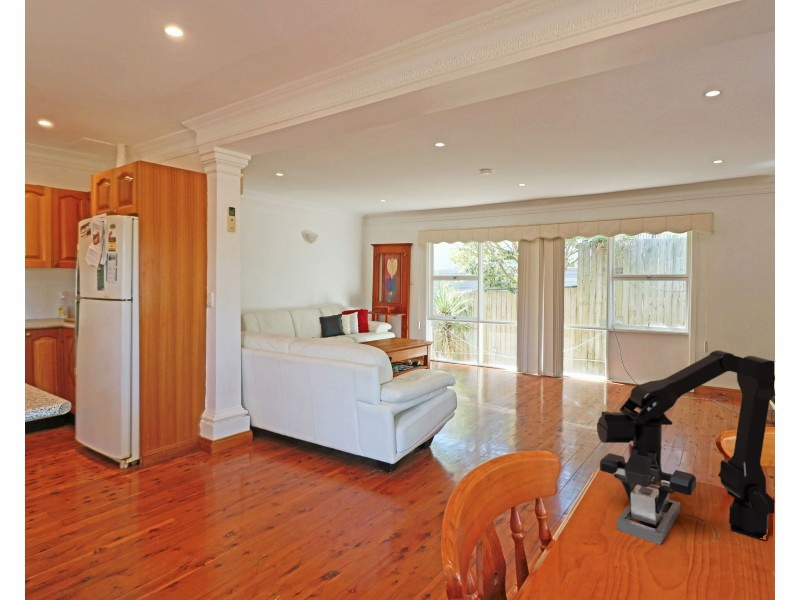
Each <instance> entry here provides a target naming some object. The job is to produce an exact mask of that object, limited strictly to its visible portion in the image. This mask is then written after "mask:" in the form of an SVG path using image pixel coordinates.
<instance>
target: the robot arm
mask: <svg viewBox="0 0 800 600" xmlns="http://www.w3.org/2000/svg"><path fill="white" fill-rule="evenodd" d="M727 372H732V373H735V374H736V380H737V384H738V386H739V390H740V391H741V400H740V401H741V402H740V408H739V417H738V422H737V430H736V435H735V443H734V449H733V455H732V456H731V457H730V458H728V460H724V459H722V460H721V461H720V469H719V472H718V475H717V476H718V477H719V478H720V483H721V485H722V486H723V487H724V489H726V492H727V495H728V496H730V497H732V498H733V501H732V502H731V503H730V505H729V516H728V523H729V525H730V527H729V528H730V530H731V531H732V532H736V533H740V534H743V535H745V536H748V537H752V538H755V539H758V538H759V540H761V539H760V538H763V536H764V535H766V534H767V529H768V527H769V515H770V514H775V513H774V501H775V499H773V497H772V496H771V495H769V493H767V478H766V474H765V472H764V470H763V467H762V464H761V461H762V453H763V446H764V440H765V435H766V434H765V433H766V429H767V428H766V427H767V422H768V415H769V407H770V402H771V399H773V398H774V397H775V395H774V360H770V359H766V358H763V357H758V356H755V355H747V356H744V357H742V356H741V357H740V356H738V355H734V353H731V352H727V351H724V350H719V349H718V350H717V349H716V350H714V351H712V352H710V353H709V355H706V356H705V357H703V358H701V359H699V360H698V361H695V362H694V363H692V364H690V365H688V366H687V367H686V366H685V368H683V369H680V370H678V371H677V372H675V373H673V374H671V375H669V376H668V377H666V378H665V377H664V378H663V379H657V380H650V381H647V382H644V383H641V384H637V385H636V386H635V387H633V388H632V390H631V391H630V396H629V397H627V399H626V400H625V402H624V403H623V405H622V406H621V407H620V408H619V412H617V411H616V412H613V411H611V412H610V411H601V416H599V418H598V420H597V423H596V430H597V435H598V436H597V437H598V438H599V441H600V442H601V443H603V444H605V443H606V444H607V443H608V444H609V443H610V444H614V443H616V444H629V443H630V442H631V441H633V447H632V450H631V455H630V457H629V460H628V459H627V461H626V458H625V456H622V455H618V454H615V453H611V452H608V453H607V454H606V455H605V456H603V457H602V458H601V459H600V462H599V471H601V472H604V473H608V474H612V475H613V476H614V478H615V479H618V480H619V481H620V483H621V484H622V485H623V488H624V490H625V493H626V496H627V499H628V502H629V504H630V505H631V492H632V490H633V489H634V484H637V485H640V486H642V487H649V486H650V483H654V482H656V483H658V484H660V483H661V485H660V487H659V488H658V490H659V496H658V502H657V514H659V513H660V511H661V509H662V506H663V504H664V502H665V500H666V498H667V496H668V494H669V495H670V494H672V495H674V494H675V493H679V494H683V495H686V496H691V495H692V494H693V493H694V491H695V489H696V487H697V477H696V475H694V474H693V473H690V472H686V471H682V470H677V469H675V470H674V472H672V473H669V472H665V471H663V470H662V449H663V445H662V438H663V437H662V434H663V433H662V431H663V430H662V429H663V426H672V425H673V422H672V420H670V419H669V418H668V417H667V416H666V412H667V411H669V410H670V409H672V408H673V407H674V405H675V404H676V402H677V401H678V399H680V398H681V397H682V396H684V395H685V394H687V393H689V392H691V391H693V390H695V389H697V388H698V387H701V386H703V385H705V384H706V383H708V382H710V381H712V380H714V379H716V378H718V377H719V376H721V375H723V374H726V373H727ZM636 409H638V410H639V411H637V410H636Z"/></svg>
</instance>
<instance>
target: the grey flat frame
mask: <svg viewBox="0 0 800 600" xmlns="http://www.w3.org/2000/svg"><path fill="white" fill-rule="evenodd" d="M680 510H681V502H680V501H675V500H672V499H669V510H668V512H667V513H664V512H662V516H661V517H660V519H659V521H658V522H657V524H656V525H654V524H651V523H649V524H651V525H653V526H656V528H653V527H650V526H647V525H644V524H642V523H638V522H636V521H633V520H632V519H633V518H632V513H631V505H630V503H629V504H628V505H627V506H626V507H625V508H624V509H623V511H622V512H621V513H620V514H619V516H618V517H617V518H616V530H617V531H619V532H620V531H621V532H623V533H626V534H629V535H631V536H634V537H637V538H640V539H643V540H646V541H649V542H651V543H654V544H656V545H659V546H662V544H663V542H664V539H665V538H666V537H667V535H668V534H669V531H670V530H671V528H672V527H673V525H674V523H675V521H676V520H677V518H678V516H679V515H680V512H681V511H680ZM661 543H662V544H661Z"/></svg>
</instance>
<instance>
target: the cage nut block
mask: <svg viewBox="0 0 800 600" xmlns="http://www.w3.org/2000/svg"><path fill="white" fill-rule="evenodd" d="M658 496H659V490H658V489H655V488H650V487H642V486H640V485H636V487H635V488H634V489H633V490H632V492H631V513H632V519H634V520H638V521H640V522H644V523H646V524H650V523H651V525H653V524H654V525H653V526H656V524H657V522H658V521H659V519H660V517H661V516H662V509H661V511H660V513H659V514H657V502H658Z"/></svg>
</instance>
